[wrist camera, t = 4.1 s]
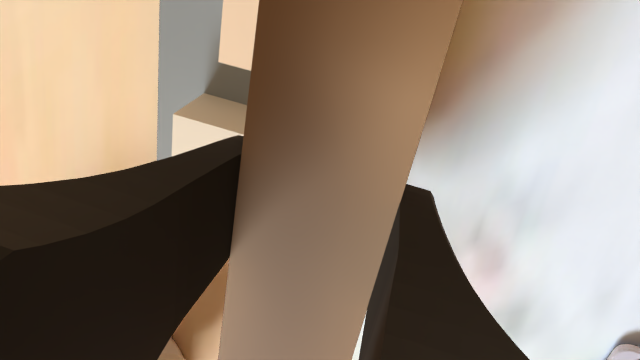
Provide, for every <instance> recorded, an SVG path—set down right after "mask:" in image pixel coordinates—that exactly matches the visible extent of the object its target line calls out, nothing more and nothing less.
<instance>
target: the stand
mask: <svg viewBox="0 0 640 360" xmlns="http://www.w3.org/2000/svg"><path fill="white" fill-rule="evenodd" d="M258 6H259V0H160V12H159V69H158V126H157V161H158V160H161V159H165V158H168V157H172V156H175V155H178V154H181V153H184V152H187V151H190V150H193V149H196V148H199V147H202V146H205V145H208V144H211V143H214V142H217V141H220V140H223V139H226V138H229V137H233V136H237V135H241V136H244V128H245V119H246V111H247V102H248V93H249V84H250V76H251V67H252V58H253V49H254V41H255V32H256V23H257V14H258Z"/></svg>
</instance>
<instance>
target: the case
mask: <svg viewBox="0 0 640 360" xmlns="http://www.w3.org/2000/svg"><path fill="white" fill-rule="evenodd" d="M462 2H463V0H259V6H258V14H257V23H256V32H255V41H254V49H253V58H252V67H251V76H250V84H249V93H248V102H247V111H246V119H245V128H244V137H243V146H242V154H241V163H240V172H239V181H238V189H237V198H236V207H235V216H234V224H233V233H232V242H231V251H230V259H229V268H228V277H227V286H226V294H225V303H224V312H223V321H222V329H221V338H220V347H219V356H218V360H352V356H353V353H354V350H355V347H356V343H357V340H358V337H359V334H360V331H361V327H362V324H363V321H364V318H365V314H366V311H367V307H368V303H369V300H370V297H371V294H372V290H373V287H374V284H375V281H376V278H377V274H378V271H379V268H380V265H381V261H382V258H383V255H384V252H385V249H386V245H387V242H388V239H389V236H390V232H391V229H392V226H393V223H394V220H395V216H396V213H397V210H398V207H399V203H400V202H401V199H402V195H403V192H404V189H405V186H406V182H407V179H408V176H409V173H410V170H411V166H412V163H413V160H414V157H415V154H416V150H417V147H418V144H419V141H420V137H421V134H422V131H423V128H424V125H425V121H426V118H427V115H428V112H429V108H430V105H431V102H432V99H433V96H434V92H435V89H436V86H437V83H438V79H439V76H440V73H441V70H442V67H443V63H444V60H445V57H446V54H447V50H448V47H449V44H450V41H451V38H452V34H453V31H454V28H455V25H456V22H457V18H458V15H459V12H460V9H461V5H462Z"/></svg>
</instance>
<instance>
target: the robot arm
mask: <svg viewBox="0 0 640 360" xmlns="http://www.w3.org/2000/svg"><path fill="white" fill-rule="evenodd" d="M243 137H244V136H241V135H237V136H233V137H229V138H226V139H223V140H220V141H217V142H214V143H211V144H208V145H205V146H202V147H199V148H196V149H193V150H190V151H187V152H184V153H181V154H178V155H175V156H172V157H168V158H165V159H161V160H158V161H154V162H151V163H147V164H144V165H140V166H137V167H133V168H129V169H125V170H120V171H116V172H111V173H106V174H101V175H95V176H90V177H84V178H78V179H69V180H61V181H52V182H44V183H35V184H24V185H8V186H0V360H158V358H159V356H160V355H161V353H162V351H163V350H164V348H165V346H166V344H167V343H168V341H169V339H170V338H171V336H172V334H173V333H174V331H175V330H176V328H177V327H178V325H179V324H180V323H181V321H182V320H183V318H184V317H185V315H186V314H187V313H188V311H189V310H190V309H191V308H192V306H193V305H194V304H195V302H196V301H197V300H198V298H199V297H200V296H201V294H202V293H203V292H204V290H205V289H206V288H207V286H208V285H209V284H210V283H211V281H212V280H213V279H214V277H215V276H216V275H217V273H218V272H219V271H220V269H221V268H222V267H223V265H224V264H225V263H226V261H227V260H228V259H229V257H230V251H231V242H232V233H233V224H234V216H235V207H236V198H237V189H238V181H239V172H240V163H241V154H242V146H243ZM638 359H640V347H638V346H634V345H631V344H621V345H619V346H617V347H616V348H614V350H613V351H612V352H611V354H610V355H609V357H608V358H607V360H638ZM359 360H529V359H528V358H527V356H526V355H525V354H524V353H523V352H522V351H521V350H520V349H519V348H518V347H517V346H516V344H515V343H514V342H513V341H512V340H511V338H510V337H509V336H508V335H507V334H506V332H505V331H504V330H503V329H502V328H501V326H500V325H499V324H498V323H497V322H496V320H495V319H494V318H493V316H492V315H491V314H490V312H489V311H488V310H487V308H486V307H485V305H484V304H483V302H482V301H481V300H480V298H479V297H478V295H477V294H476V292H475V291H474V289H473V288H472V286H471V284H470V283H469V281H468V279H467V277H466V276H465V274H464V272H463V270H462V268H461V266H460V264H459V262H458V260H457V258H456V256H455V254H454V252H453V250H452V247H451V245H450V243H449V241H448V238H447V236H446V234H445V231H444V228H443V226H442V223H441V220H440V217H439V215H438V211H437V208H436V205H435V201H434V197H433V195H432V193H431V191H428V190H425V189H421V188H418V187H415V186H411V185H408V184H406V186H405V189H404V192H403V195H402V199H401V202H400V203H399V207H398V210H397V213H396V216H395V220H394V223H393V226H392V229H391V232H390V236H389V239H388V242H387V245H386V249H385V252H384V255H383V258H382V261H381V265H380V268H379V271H378V274H377V278H376V281H375V284H374V287H373V290H372V294H371V297H370V300H369V303H368V307H367V313H366V319H365V325H364V331H363V337H362V343H361V349H360V355H359Z"/></svg>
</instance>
